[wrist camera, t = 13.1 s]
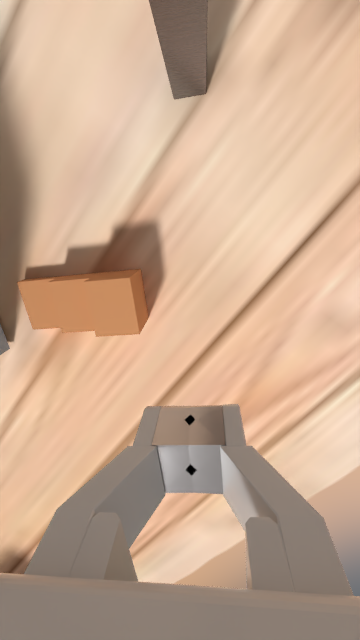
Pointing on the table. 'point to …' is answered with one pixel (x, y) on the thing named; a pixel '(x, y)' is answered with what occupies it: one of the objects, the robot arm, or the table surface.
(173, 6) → the door frame
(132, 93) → the table surface
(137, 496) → the robot arm
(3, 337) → the door
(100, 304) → the orange stepped block
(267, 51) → the table surface
